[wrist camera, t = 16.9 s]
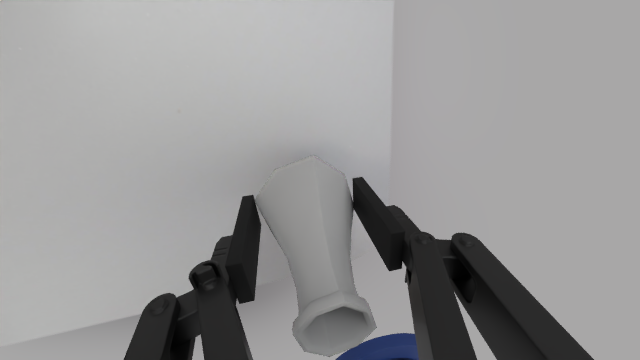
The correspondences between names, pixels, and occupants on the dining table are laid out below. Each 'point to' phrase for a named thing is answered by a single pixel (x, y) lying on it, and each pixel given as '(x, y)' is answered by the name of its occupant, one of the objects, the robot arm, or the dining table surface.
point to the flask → (317, 253)
